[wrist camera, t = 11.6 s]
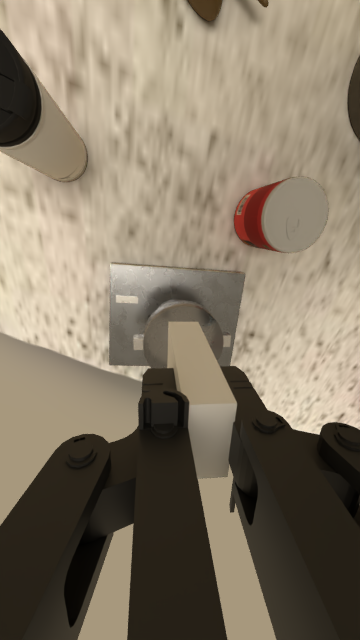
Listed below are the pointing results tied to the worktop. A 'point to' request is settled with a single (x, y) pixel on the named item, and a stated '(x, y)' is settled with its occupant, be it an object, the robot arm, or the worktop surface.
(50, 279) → the worktop surface
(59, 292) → the worktop surface
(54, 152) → the travel mug
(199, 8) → the kendama
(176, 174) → the worktop surface
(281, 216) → the canned food
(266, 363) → the worktop surface
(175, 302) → the dark dome with handle
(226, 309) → the mount plate
